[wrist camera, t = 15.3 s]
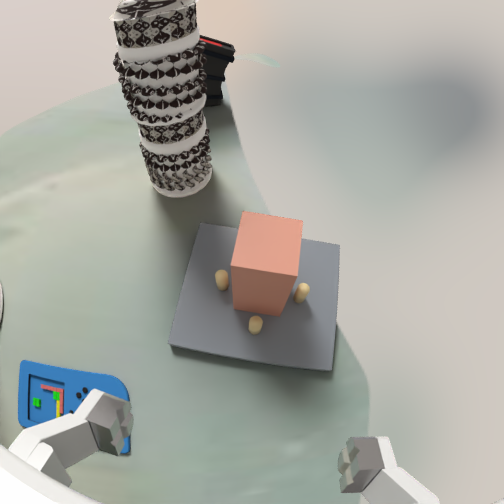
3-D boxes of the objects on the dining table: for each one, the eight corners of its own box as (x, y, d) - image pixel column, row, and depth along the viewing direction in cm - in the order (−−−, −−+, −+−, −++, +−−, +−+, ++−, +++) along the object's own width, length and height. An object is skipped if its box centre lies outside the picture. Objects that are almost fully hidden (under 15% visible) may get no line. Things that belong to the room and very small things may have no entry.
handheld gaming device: (127, 454, 22) (16, 424, 21) (131, 453, 23) (21, 424, 22) (127, 376, 26) (18, 358, 25) (130, 377, 27) (24, 360, 26)
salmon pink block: (233, 309, 29) (230, 265, 21) (241, 267, 32) (242, 210, 23) (279, 316, 29) (297, 276, 20) (285, 274, 31) (303, 220, 23)
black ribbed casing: (140, 100, 45) (167, 26, 34) (208, 113, 52) (244, 48, 41) (138, 111, 44) (166, 33, 33) (210, 125, 50) (248, 56, 39)
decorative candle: (163, 212, 36) (109, 14, 14) (139, 167, 40) (94, 2, 17) (227, 181, 39) (223, -12, 17) (196, 142, 42) (181, -21, 20)
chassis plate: (170, 345, 28) (161, 337, 25) (201, 228, 35) (198, 209, 32) (328, 371, 28) (339, 367, 24) (336, 250, 34) (346, 233, 31)
